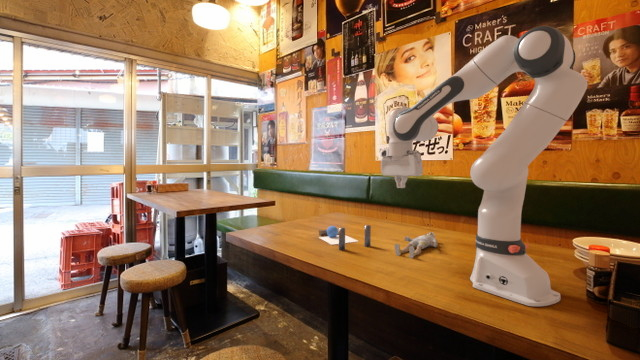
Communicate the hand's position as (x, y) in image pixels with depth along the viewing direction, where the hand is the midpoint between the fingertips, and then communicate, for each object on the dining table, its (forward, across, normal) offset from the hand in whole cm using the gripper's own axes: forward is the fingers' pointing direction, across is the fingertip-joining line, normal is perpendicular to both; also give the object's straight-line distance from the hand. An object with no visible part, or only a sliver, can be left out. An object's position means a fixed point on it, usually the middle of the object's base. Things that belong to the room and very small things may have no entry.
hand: (400, 187), depth 117 cm
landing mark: (+26, +33, +10) cm, 43 cm away
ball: (+23, +38, +10) cm, 46 cm away
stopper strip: (+25, +44, +10) cm, 52 cm away
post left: (+26, +18, +16) cm, 36 cm away
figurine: (+27, +6, -14) cm, 31 cm away
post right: (+26, +18, +4) cm, 32 cm away
